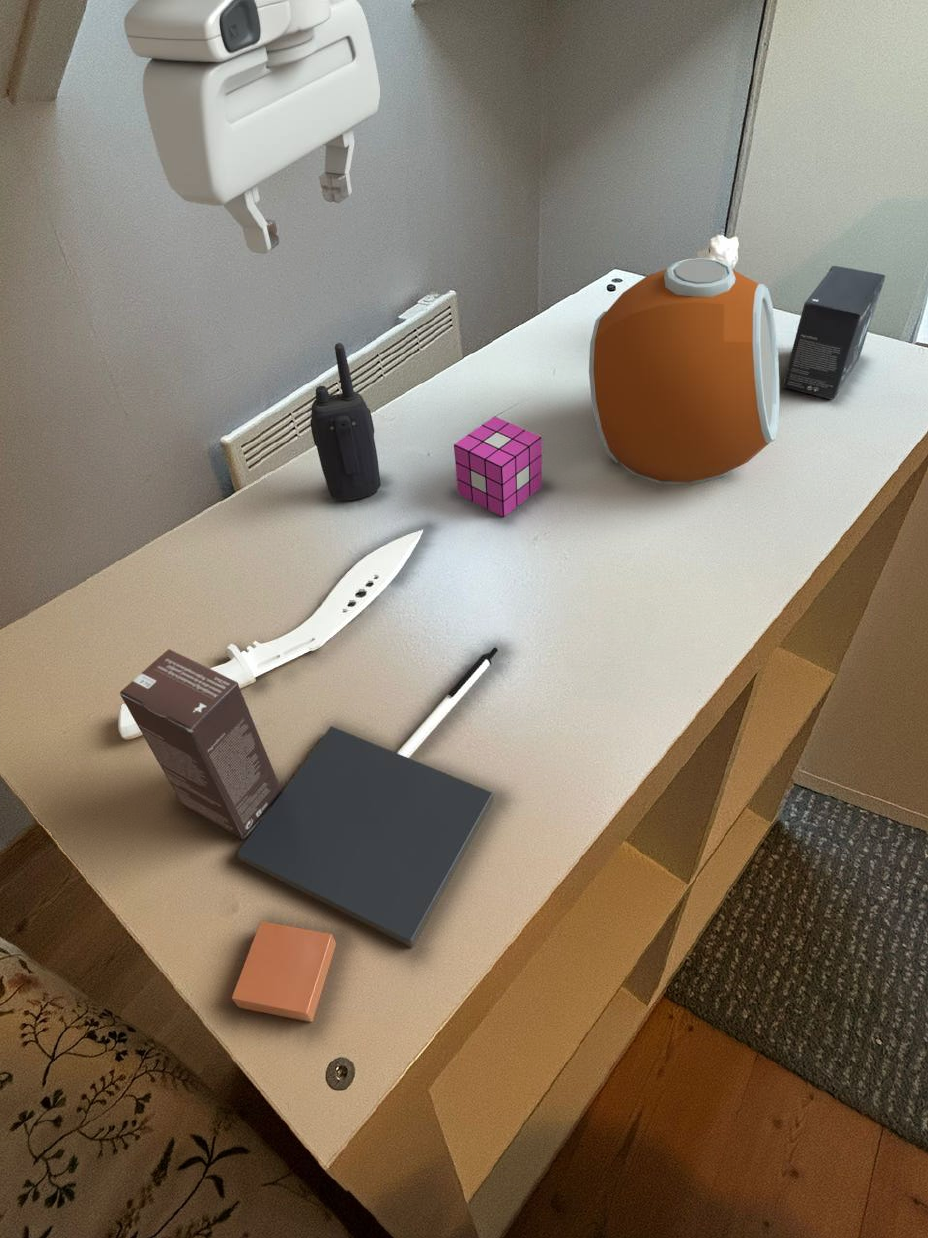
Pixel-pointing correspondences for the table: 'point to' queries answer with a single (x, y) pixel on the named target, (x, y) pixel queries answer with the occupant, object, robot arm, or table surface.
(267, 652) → the knife
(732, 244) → the white creature statuette
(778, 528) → the table surface
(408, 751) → the pen
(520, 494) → the puzzle toy
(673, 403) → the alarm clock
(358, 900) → the slate tile
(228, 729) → the box
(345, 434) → the two-way radio
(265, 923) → the orange square block
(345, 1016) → the table surface
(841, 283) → the box
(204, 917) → the table surface
